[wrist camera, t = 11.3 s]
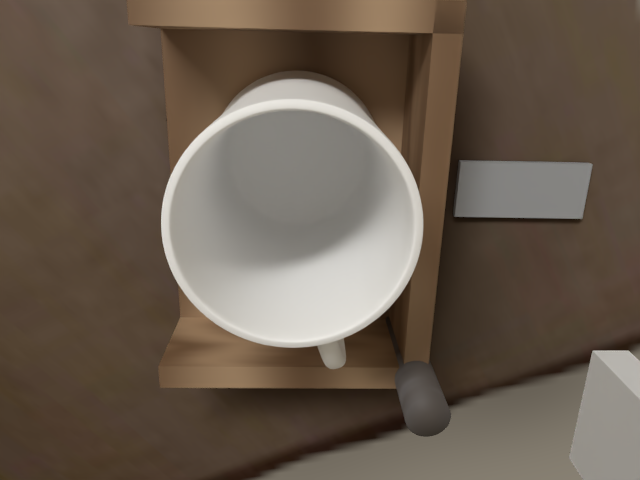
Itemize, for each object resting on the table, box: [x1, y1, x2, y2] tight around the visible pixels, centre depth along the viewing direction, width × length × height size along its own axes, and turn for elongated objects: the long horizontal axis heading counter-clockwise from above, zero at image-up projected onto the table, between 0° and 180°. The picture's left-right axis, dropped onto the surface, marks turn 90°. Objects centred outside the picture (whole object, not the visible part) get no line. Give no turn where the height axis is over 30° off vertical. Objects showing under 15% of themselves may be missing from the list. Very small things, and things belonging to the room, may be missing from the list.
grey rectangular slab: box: [453, 160, 593, 219], centre depth 29 cm, size 7×3×1 cm, turn 89°
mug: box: [161, 71, 423, 369], centre depth 23 cm, size 12×8×12 cm
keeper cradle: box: [127, 0, 467, 436], centre depth 25 cm, size 13×18×9 cm
